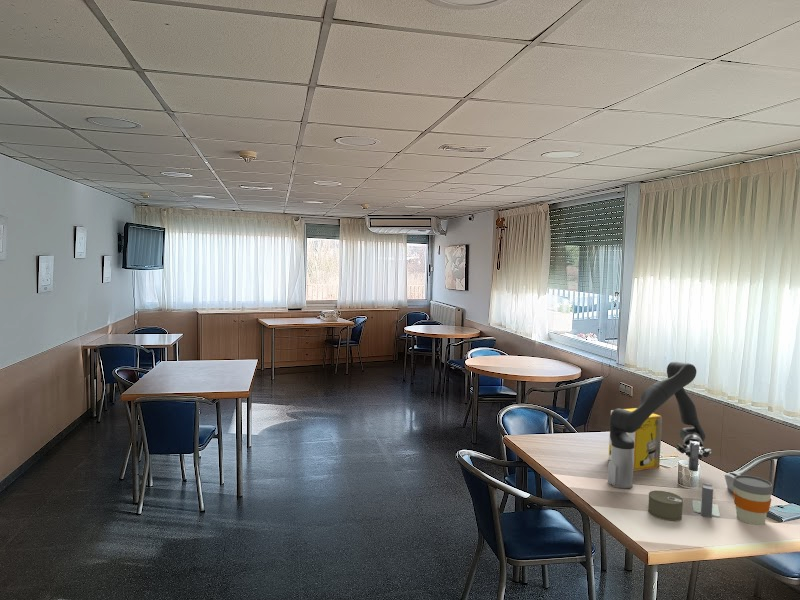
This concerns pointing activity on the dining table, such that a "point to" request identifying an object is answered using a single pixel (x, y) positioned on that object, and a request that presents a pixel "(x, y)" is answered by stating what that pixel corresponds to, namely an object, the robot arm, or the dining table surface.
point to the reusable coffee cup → (752, 498)
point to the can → (665, 505)
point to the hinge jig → (706, 502)
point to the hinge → (730, 480)
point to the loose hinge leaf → (694, 456)
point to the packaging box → (646, 443)
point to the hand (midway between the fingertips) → (694, 455)
